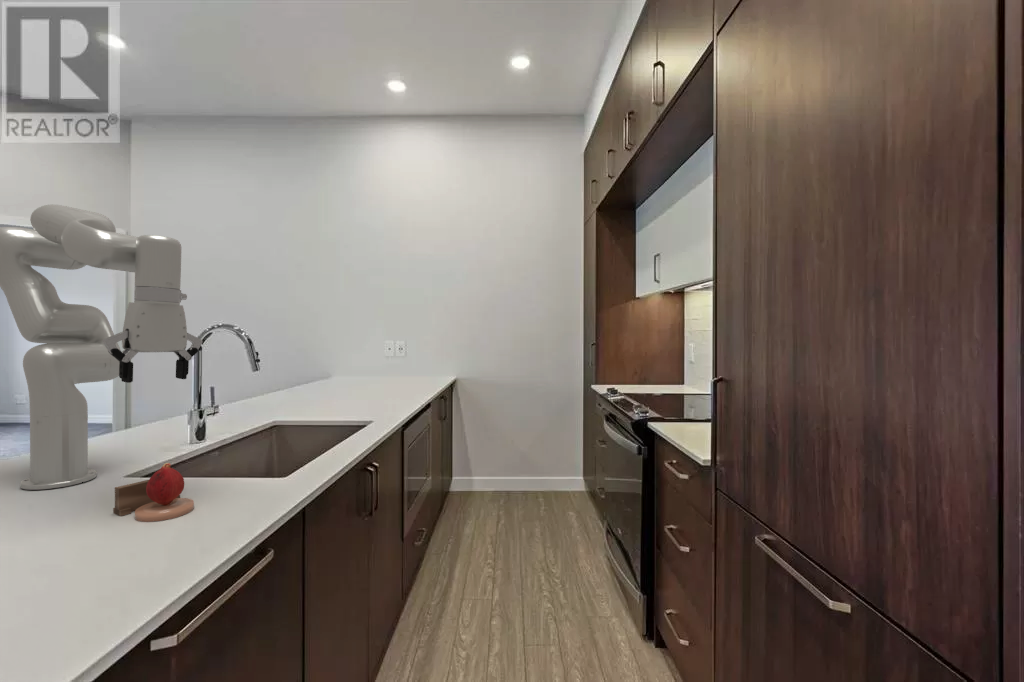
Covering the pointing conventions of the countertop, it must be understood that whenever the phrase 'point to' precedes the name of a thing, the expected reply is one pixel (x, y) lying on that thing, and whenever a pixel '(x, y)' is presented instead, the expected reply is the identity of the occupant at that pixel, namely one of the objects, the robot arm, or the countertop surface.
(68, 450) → the robot arm
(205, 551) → the countertop surface
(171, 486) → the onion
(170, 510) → the plate
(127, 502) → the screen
